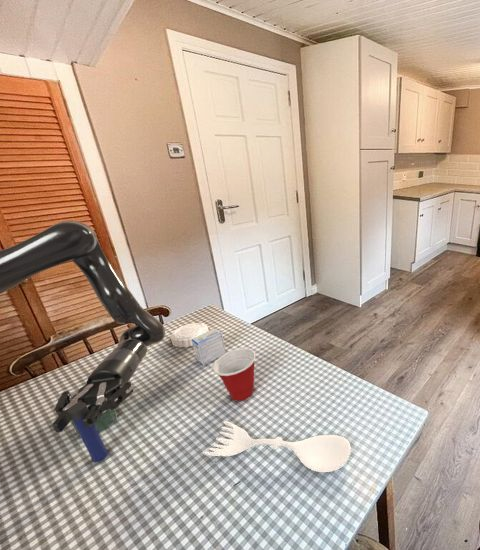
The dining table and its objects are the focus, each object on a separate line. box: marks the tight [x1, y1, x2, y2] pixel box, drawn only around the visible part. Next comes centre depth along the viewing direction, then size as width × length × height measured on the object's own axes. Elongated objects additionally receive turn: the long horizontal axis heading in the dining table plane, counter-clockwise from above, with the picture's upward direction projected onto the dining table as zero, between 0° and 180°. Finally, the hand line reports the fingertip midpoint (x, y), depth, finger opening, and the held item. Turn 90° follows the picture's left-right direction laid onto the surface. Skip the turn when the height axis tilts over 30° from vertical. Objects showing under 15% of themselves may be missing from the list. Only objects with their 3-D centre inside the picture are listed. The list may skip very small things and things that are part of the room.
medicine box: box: [192, 328, 227, 366], centre depth 99 cm, size 8×4×9 cm, turn 144°
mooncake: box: [169, 322, 210, 349], centre depth 110 cm, size 12×12×4 cm
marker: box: [68, 402, 109, 463], centre depth 65 cm, size 3×3×15 cm
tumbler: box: [69, 403, 118, 437], centre depth 75 cm, size 8×8×7 cm
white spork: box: [201, 420, 352, 473], centre depth 68 cm, size 9×32×4 cm, turn 83°
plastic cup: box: [212, 347, 257, 402], centre depth 83 cm, size 11×11×12 cm
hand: (71, 426), depth 60 cm, fingers open, 4 cm apart
